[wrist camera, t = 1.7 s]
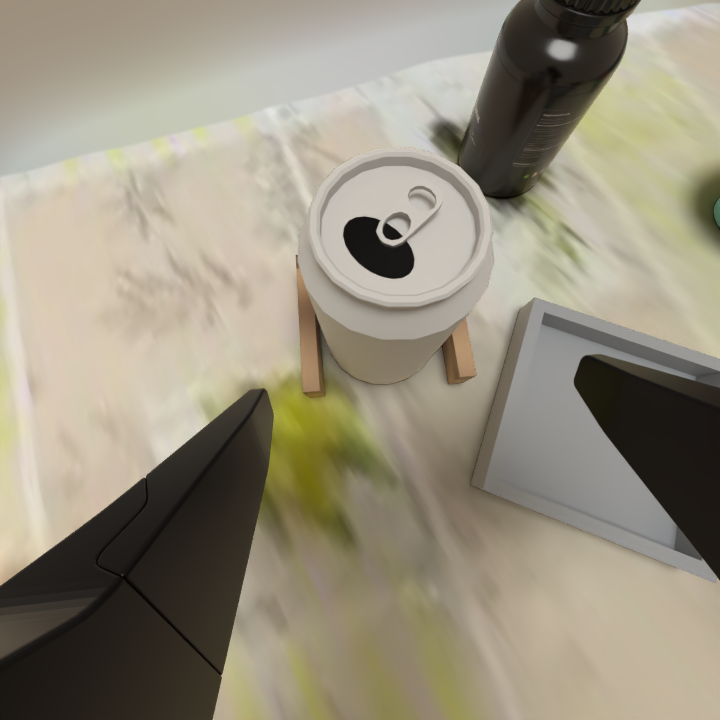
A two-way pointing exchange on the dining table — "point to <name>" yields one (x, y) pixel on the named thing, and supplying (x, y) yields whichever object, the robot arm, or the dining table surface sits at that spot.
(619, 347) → the tray
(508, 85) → the supplement bottle
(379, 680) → the dining table surface
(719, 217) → the cupcake
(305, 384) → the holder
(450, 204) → the can
